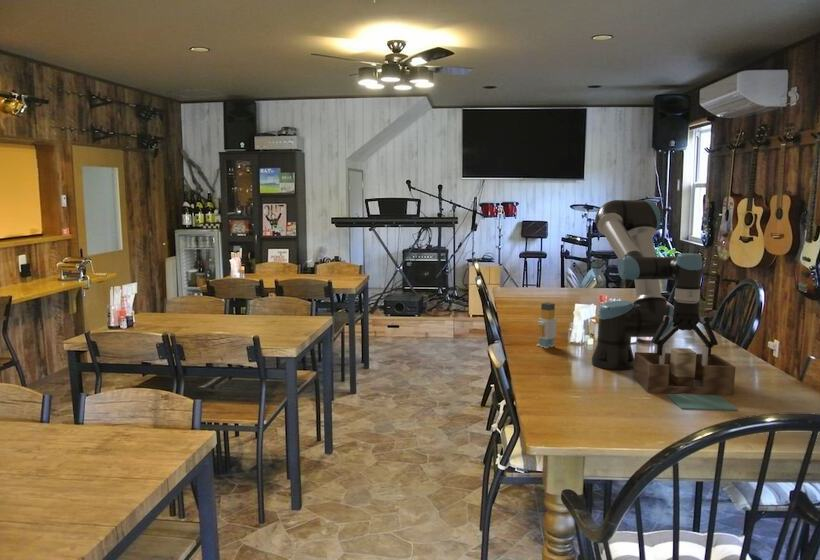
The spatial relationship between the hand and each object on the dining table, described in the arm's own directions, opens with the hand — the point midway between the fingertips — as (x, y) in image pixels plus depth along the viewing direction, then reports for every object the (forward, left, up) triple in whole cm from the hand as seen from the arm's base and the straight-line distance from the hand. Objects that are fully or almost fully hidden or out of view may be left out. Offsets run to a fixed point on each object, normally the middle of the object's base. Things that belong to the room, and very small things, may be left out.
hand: (682, 365), depth 209 cm
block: (0, 0, -3) cm, 3 cm away
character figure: (-37, +52, -7) cm, 64 cm away
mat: (0, -17, -7) cm, 18 cm away
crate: (0, 0, -7) cm, 7 cm away
